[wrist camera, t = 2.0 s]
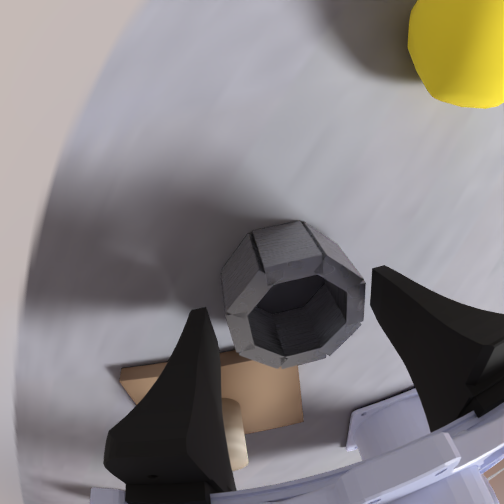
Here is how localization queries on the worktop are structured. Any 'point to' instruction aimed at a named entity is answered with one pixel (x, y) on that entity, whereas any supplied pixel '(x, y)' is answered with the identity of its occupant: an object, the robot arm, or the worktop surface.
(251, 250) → the collar ring
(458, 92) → the lemon
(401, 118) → the worktop surface
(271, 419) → the post board
